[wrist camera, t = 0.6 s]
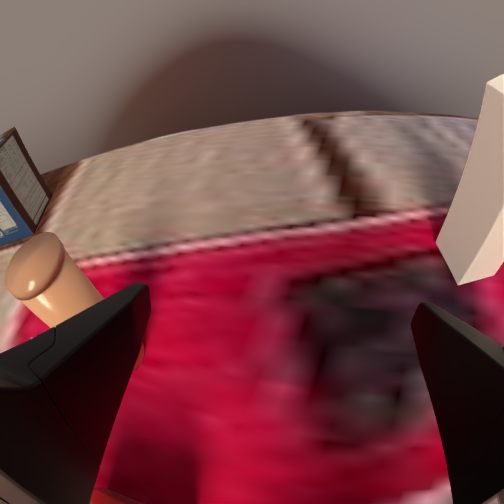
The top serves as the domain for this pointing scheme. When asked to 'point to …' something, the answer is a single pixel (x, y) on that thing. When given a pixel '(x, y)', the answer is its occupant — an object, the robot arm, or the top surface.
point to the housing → (110, 497)
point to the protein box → (19, 190)
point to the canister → (51, 282)
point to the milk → (479, 198)
